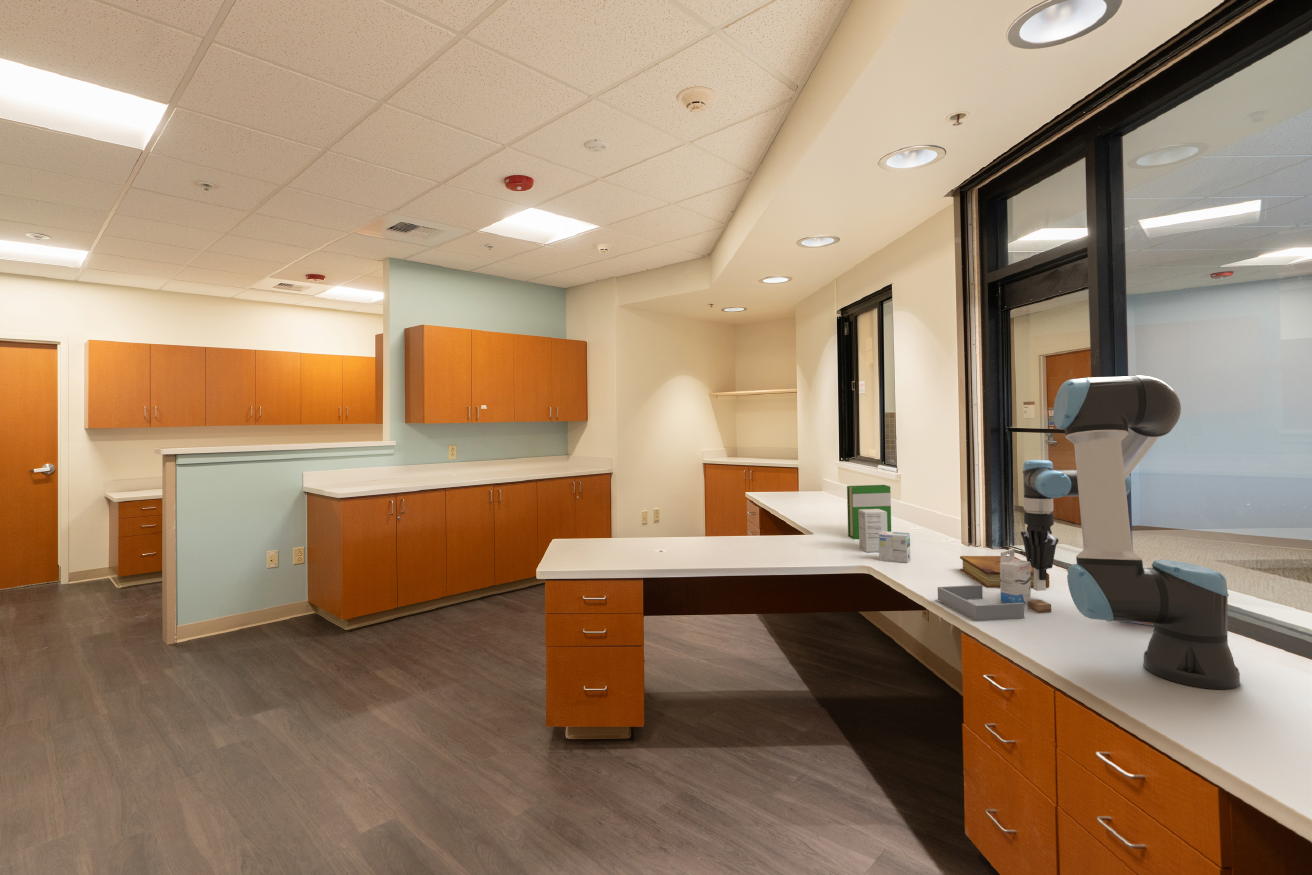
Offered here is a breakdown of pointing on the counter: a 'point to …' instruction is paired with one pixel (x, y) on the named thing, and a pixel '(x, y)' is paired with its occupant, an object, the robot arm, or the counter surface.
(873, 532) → the supplement box
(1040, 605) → the walnut block
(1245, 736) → the counter surface
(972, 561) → the diary
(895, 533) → the light bulb box
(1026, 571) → the ink box
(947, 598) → the tray
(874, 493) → the hardback book
